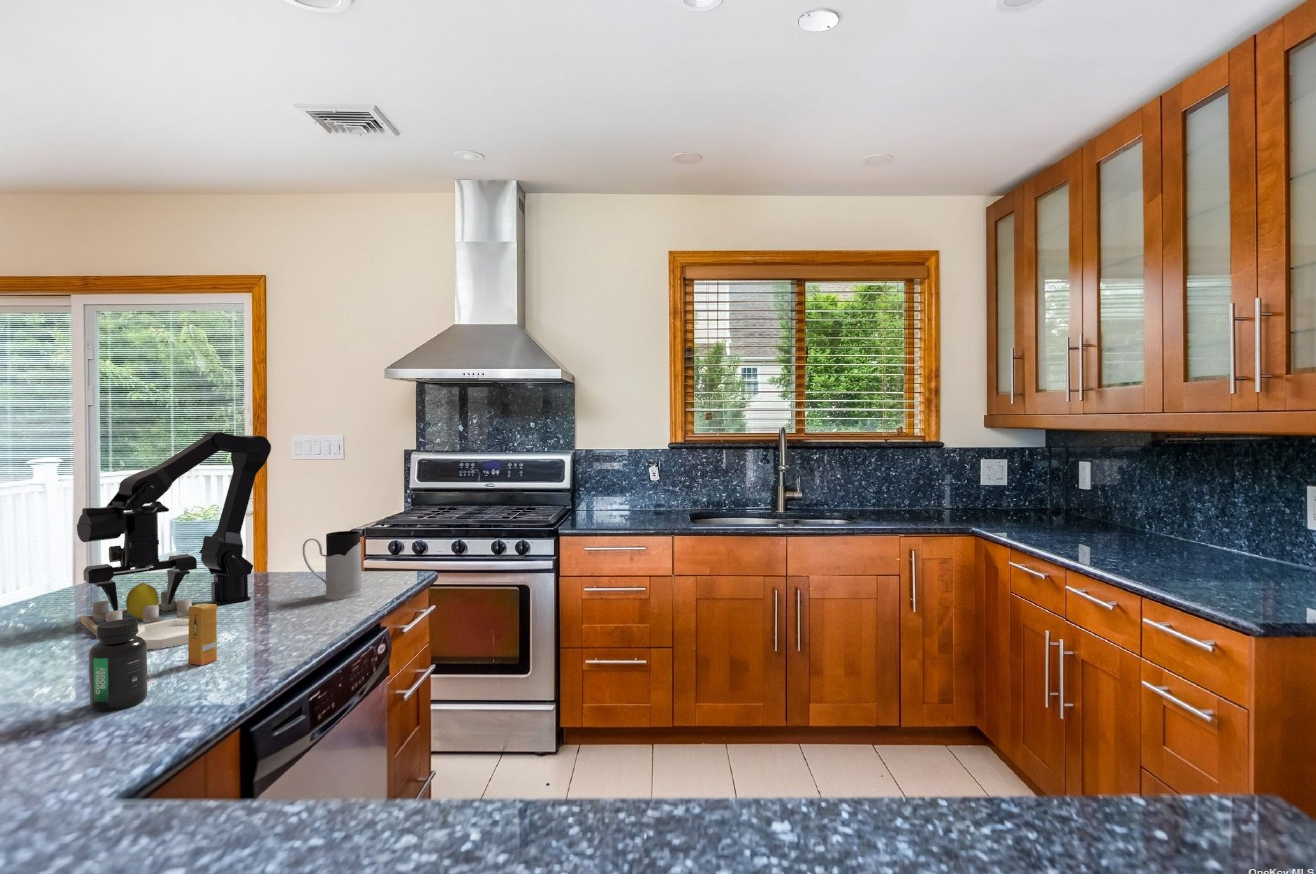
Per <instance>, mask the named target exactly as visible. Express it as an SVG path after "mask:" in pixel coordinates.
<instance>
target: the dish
mask: <svg viewBox="0 0 1316 874" xmlns="http://www.w3.org/2000/svg"><path fill="white" fill-rule="evenodd" d="M172 619H173V620H169V619H167V620H168V621H164V620H161V621H162V622H157V623H151V624H146V625H142V624H141V625H142V626H138V633H137V634H136V636H138V637H141V638H143V639H144V640H145V642H146V646H147V649H153V650H162V649H161V648H165V647H170V648H174V647H173V646H175V647H178V646H177V645H179V646H183V645H184V646H185V645H188V639H189V619H175V618H172ZM165 649H166V648H165Z"/></svg>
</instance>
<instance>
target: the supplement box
mask: <svg viewBox="0 0 1316 874" xmlns="http://www.w3.org/2000/svg"><path fill="white" fill-rule="evenodd" d="M217 606H218V603H198V604H197V603H196V604H194V605H193V604H192V606H189V639H188V644H187V645H188V649H187V650H188V654H187V655H188V656H187V657H188V658H187V659H188V660H187V664H189V665H197V666H205V665H208V664H210V663H213V662H217V661H218V655H217V654H218V653H217V652H218V651H217V650H218V648H217V647H218V645H217V644H218V636H217V635H218V632H217V631H218V630H217V629H218V628H217V627H218V625H217V624H218V621H217V620H218V618H217V616H218V615H217V613H218V611H217V610H218V608H217Z"/></svg>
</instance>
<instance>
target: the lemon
mask: <svg viewBox="0 0 1316 874" xmlns="http://www.w3.org/2000/svg"><path fill="white" fill-rule="evenodd" d="M159 603H160V601H159V594H158V591H157V589H156V588H155V587H154V586H152V585H150V584H148V583H147V584H146V583H145V582H140V583H139V584H137V585H136V586H133V587H132V588H131V589H130V590H129V592H128V594H127V596H126V601H125V606H126V609H127V610H128V612H129V613H130V614H131V615H132V616H131V617H134V618H137V619H139V620H140V621H143V607H145V606H150V605H158V604H159Z"/></svg>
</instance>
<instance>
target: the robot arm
mask: <svg viewBox="0 0 1316 874" xmlns="http://www.w3.org/2000/svg"><path fill="white" fill-rule="evenodd" d="M220 451H221V452H225V453H230V460H231V464H232V469H233V472H232V475H231V479H230V482H229V486H228V488H227V493H226V496H225V499H224V504H223V508H222V511H221V515H220V517H219V522H218V524H217V525H218V526H217V528H216V530H215V531H214V533H213V534H212V535H211V536H210V535H204V537H203V541H202V547H201V549H200V550H199V552H198V554H201V555H200V561H201V562H202V564H203V565H204V566H205V567H206V568H207V569H208V571H209V573H210V575H213V581H212V582H211V583H210V587H211V588H210V589H211V590H210V592H211V594H210V595H211V597H210V598H211V599H210V600H211V601H212V602H213V603H215V604H217V605H227V604H233V603H239V602H243V601H248V600H249V601H250V600H252V599H251V597H252V596H251V597H250V596H249V583H248V580H249V579H248V578H249V577H248V576H249V575H251V574H252V573H253V569H254V565H253V563H251V562H250V561H248V560H247V559H246V558H245V557H244V556H243V552H244V551H243V550H244V542H243V538H242V534H241V533H242V532H241V531H242V528H243V524H244V521H245V516H246V513H247V509H248V506H249V502H250V500H251V499H250V498H251V496H252V495H251V494H252V491H253V489H254V484H255V480H256V478H257V477H256V476H257V474H258V473H259V471H260V470H261V469H263V467H264V466H265V464H266V462H267V460H268V458H269V456H270V454H271V451H272V443H270V441H269V439H268V438H266V437H264V436H262V435H235V434H234V435H233V434H230V433H225V432H221V431H210V432H207V433H206V434H204V436H202V437H201V438H200V439H198V440H197V441H195V442H193V443H192V444H190V445H188V446H187V447H185V448H184V449H182V450H180V451H179V452H177V453H176V454H175V455H174V454H173V456H170V457H169V458H167V459H166V460H164V461H163V462H161V463H160V464H158V465H156V466H153V467H151V468H147V469H144V470H141V471H139V472H136V473H133V474H131V475H129V476H126V477H125V478H124V479H122V481H120V483H119V487H118V491H117V492H116V494H115V495H114V496H113V498H111V500H110V501H109V502H108V504H107V505H106V506H103V507H102V506H101V507H83V508H82V509H81V511H82V512H81V515H80V516H79V518H78V521H77V522H78V523H77V524H76V532H77V536H78V538H79V540H80V541H81V542H82V543H90V542H98V541H107V540H114V539H115V540H116V539H119V538H120V537H121V536H122V535H124V540H123V547H122V546H121V545H112V546H109V547H108V559H109V560H108V561H109V563H117V562H119V565H120V566H119V565H118V566H112V565H110V564H109V563H105V564H103V563H102V564H97V565H96V564H95V565H88V566H86V567H85V568H83V574H82V575H83V581H85V582H86V583H87V584H89V585H90V584H91V585H94V586H95V587H97V588H98V587H99V588H100V587H101V589H102V590H103V592H104V593H105V595H106V597H107V601H108V603H110V606H111V608H112V611H118V610H119V601H118V591H117V583H116V581H114V580H113V578H114V577H118V576H124V575H125V576H126V575H132V574H139V573H149V572H154V571H162V570H166V574H167V585H166V586H167V587H166V591H167V604H168V605H169V604H171V602H172V599H173V597H174V595H175V596H176V592H177V590H178V588H179V586H180V584H181V582H182V581H183V579H184V578H185V576H186V575H190V574H191V571H193V570H197V568H198V566H197V565H198V560H197V558H196V557H194V555H191V554H188V553H184V554H177V555H169V557H168V560H167V559H166V560H160V558H159V545H160V540H159V521H158V519H159V518H158V517H159V516H158V513H167V512H169V511H170V509H169V508H168V507H167V506H166V505H163V503H162V502H161V501H159V499H160V498H161V497H162V496H163V495H165V493H166V492H168V491H169V489H170V488H171V486H172V485H173V483H174V482H175V481H176V480H178V479H179V478H181V476H183V475H185V474H187V473H188V472H190V471H191V470H192V469H194V468H195V467H197V466H199V465H200V464H201V463H202V462H205V461H206V460H207V459H209V458H210V457H213V455H215V454H216V453H219V452H220ZM190 570H191V571H190Z"/></svg>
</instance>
